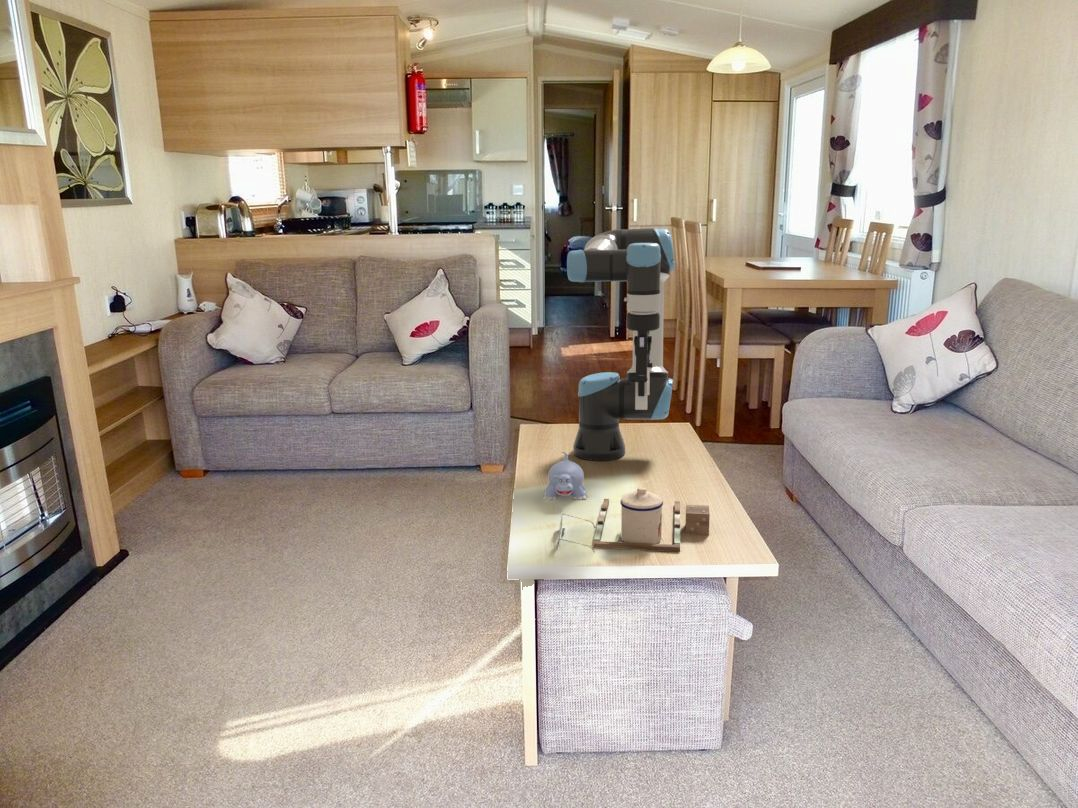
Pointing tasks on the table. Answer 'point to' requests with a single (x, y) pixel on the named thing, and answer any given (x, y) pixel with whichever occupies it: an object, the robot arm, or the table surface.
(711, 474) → the table surface
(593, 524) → the sunglasses
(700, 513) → the die
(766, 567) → the table surface
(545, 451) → the table surface
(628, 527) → the teacup with lid
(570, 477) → the hippopotamus toy
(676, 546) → the track
